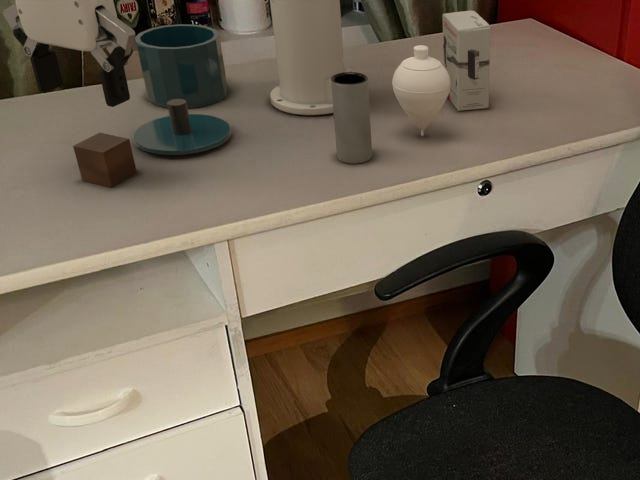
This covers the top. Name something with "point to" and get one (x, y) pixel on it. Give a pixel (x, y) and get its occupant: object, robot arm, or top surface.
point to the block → (105, 159)
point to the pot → (182, 64)
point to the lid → (181, 132)
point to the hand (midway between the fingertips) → (84, 95)
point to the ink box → (467, 59)
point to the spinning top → (421, 87)
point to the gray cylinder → (351, 117)
